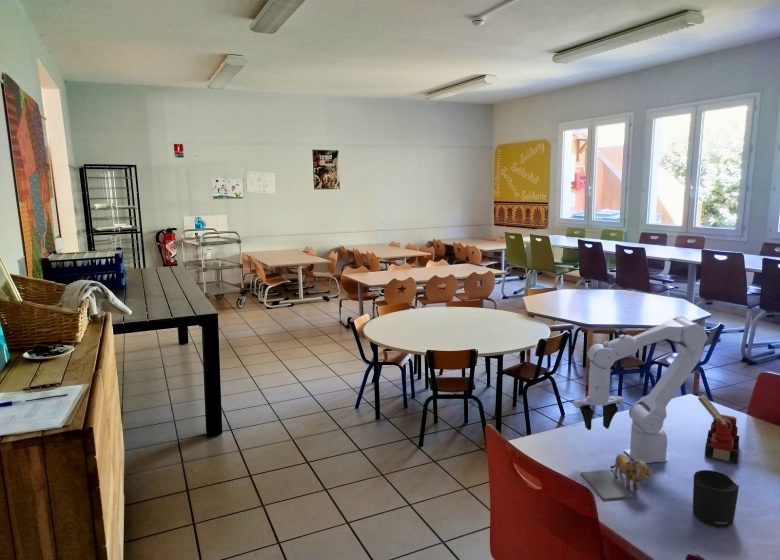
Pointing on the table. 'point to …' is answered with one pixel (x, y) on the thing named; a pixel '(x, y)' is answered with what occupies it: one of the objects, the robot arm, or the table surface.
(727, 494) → the pen holder
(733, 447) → the toy fire truck
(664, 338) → the robot arm
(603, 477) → the rubber mat
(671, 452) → the table surface
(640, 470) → the lion figurine
